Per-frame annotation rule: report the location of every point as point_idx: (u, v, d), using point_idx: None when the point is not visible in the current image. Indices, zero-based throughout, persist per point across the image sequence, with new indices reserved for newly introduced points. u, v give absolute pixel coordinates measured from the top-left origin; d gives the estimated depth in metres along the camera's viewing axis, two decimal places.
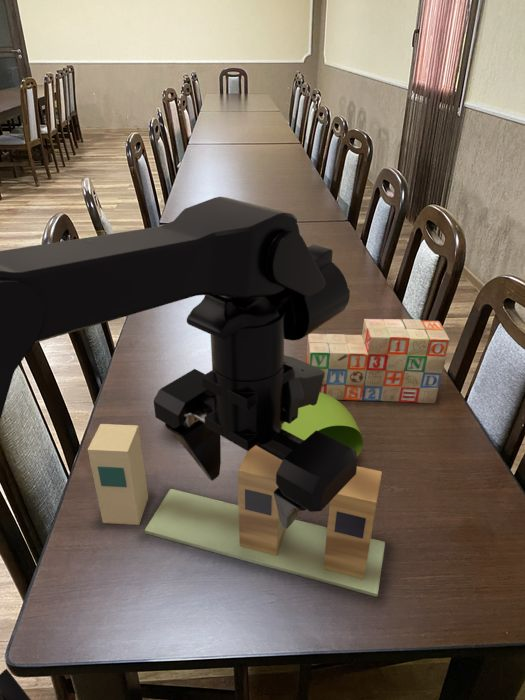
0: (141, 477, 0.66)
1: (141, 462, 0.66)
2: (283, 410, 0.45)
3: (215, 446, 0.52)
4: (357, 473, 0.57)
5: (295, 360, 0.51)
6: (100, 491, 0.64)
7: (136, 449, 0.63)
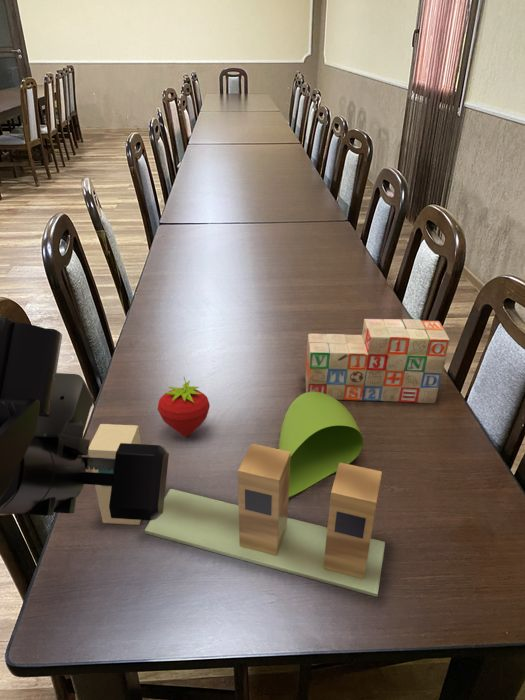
0: None
1: None
2: (75, 453, 0.44)
3: None
4: (357, 473, 0.57)
5: None
6: (100, 491, 0.64)
7: None
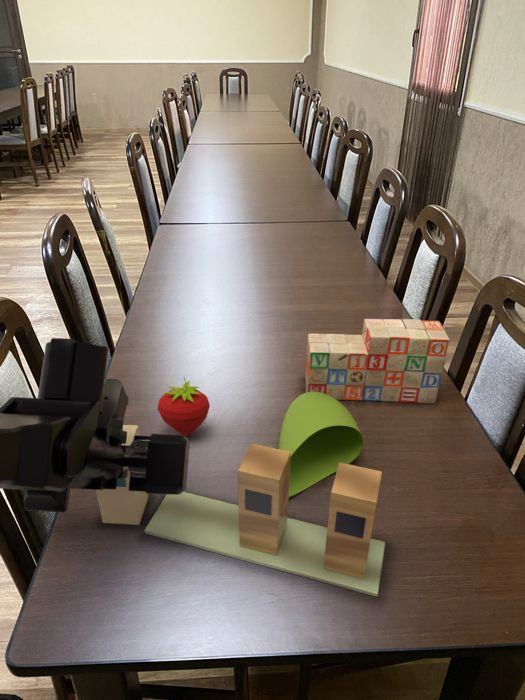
0: None
1: None
2: (116, 442, 0.56)
3: None
4: (357, 473, 0.57)
5: None
6: (100, 491, 0.64)
7: None
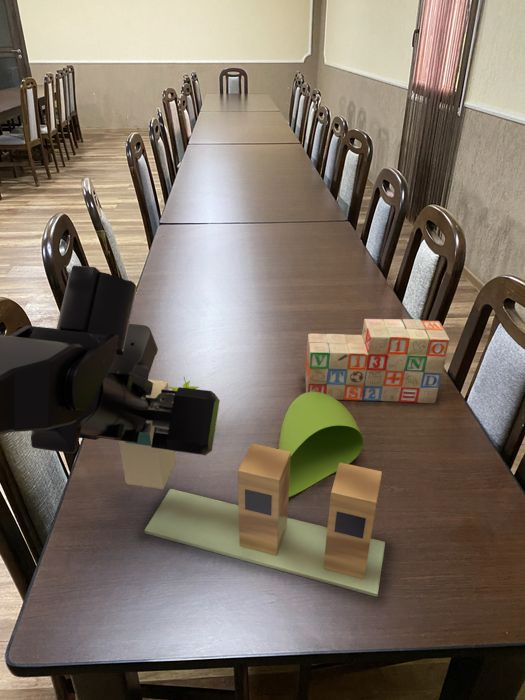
0: None
1: None
2: (140, 392, 0.52)
3: None
4: (357, 473, 0.57)
5: None
6: (124, 448, 0.60)
7: None
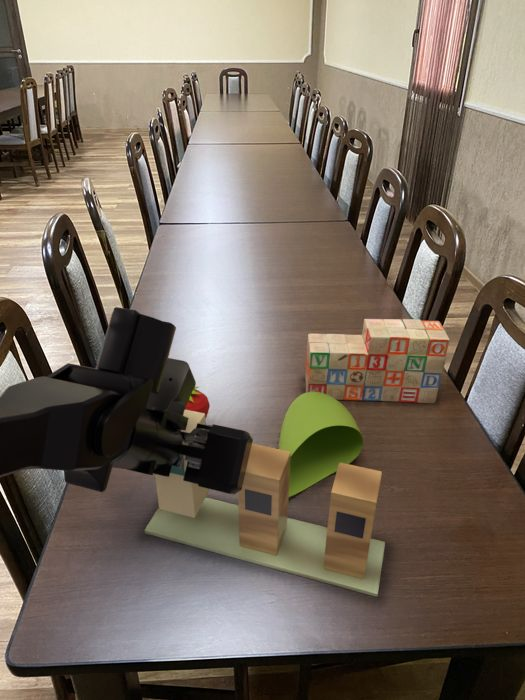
0: None
1: None
2: (175, 427, 0.53)
3: None
4: (357, 473, 0.57)
5: None
6: (159, 475, 0.61)
7: None
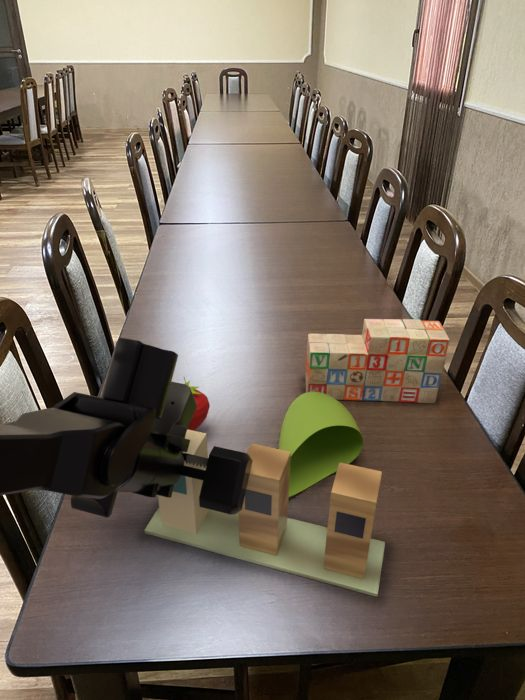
0: None
1: None
2: (177, 449, 0.54)
3: None
4: (357, 473, 0.57)
5: None
6: None
7: None
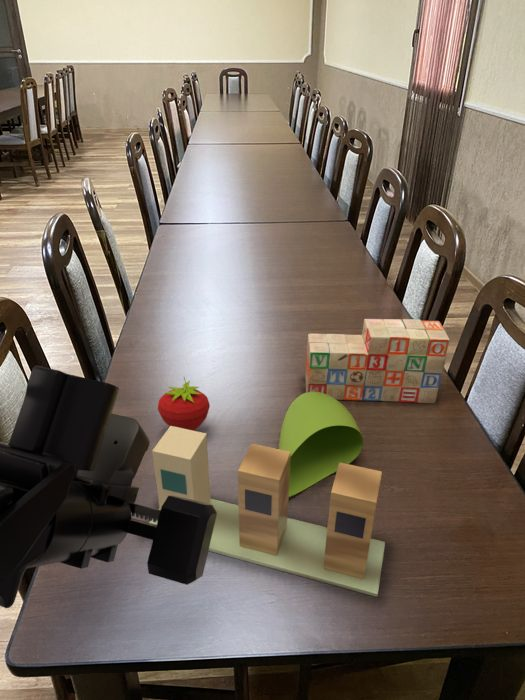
0: (204, 486, 0.64)
1: (206, 471, 0.64)
2: (121, 500, 0.43)
3: None
4: (357, 473, 0.57)
5: None
6: (161, 494, 0.62)
7: (201, 457, 0.61)
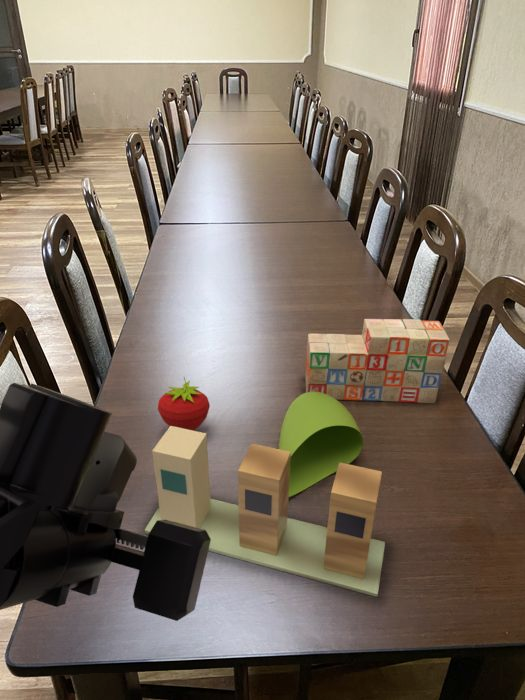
0: (204, 486, 0.64)
1: (206, 471, 0.64)
2: (105, 526, 0.39)
3: None
4: (357, 473, 0.57)
5: None
6: (161, 494, 0.62)
7: (201, 457, 0.61)
